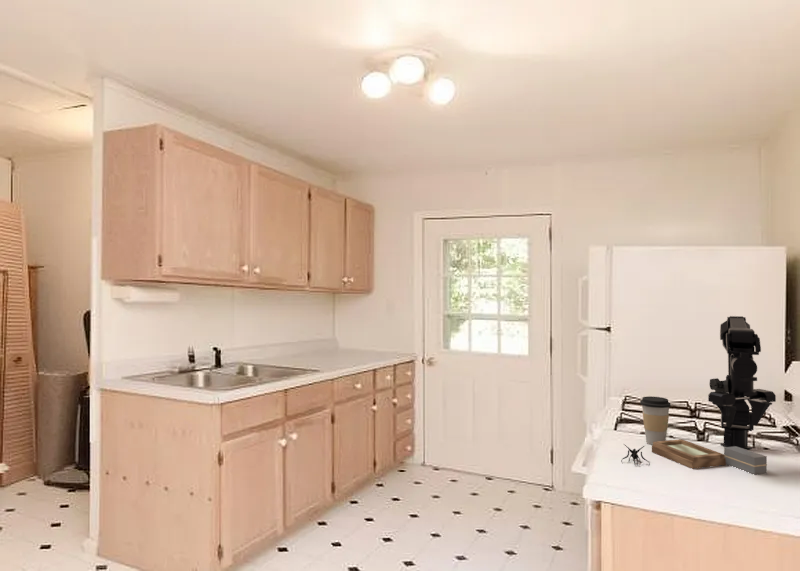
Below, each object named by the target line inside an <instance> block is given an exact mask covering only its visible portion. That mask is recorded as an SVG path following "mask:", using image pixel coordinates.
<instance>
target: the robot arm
mask: <svg viewBox="0 0 800 571" xmlns="http://www.w3.org/2000/svg"><path fill="white" fill-rule="evenodd" d="M719 339H720V341H722V342H721V343H722V347H723V349H725V351H726V353H727V372H728V373H727V374H726V376H725V380H720V379H719V378H718V377H717V378H716V377H715V378H710V379H709V389H710V390H711V391H710V392H709V393H708V400H707V401H708V402H710V403H712V405H715V406H716V407H717V408H718V409H719V410H720V427H721V429H724V430H723V431H724V432H723V443H722V442H721V443H720V446H723V447H734V446H737V447H740V448H743V449H746V450H752V449H753V447H752V446H749V444H748V443H749V441H748V439H749V437H748V434H749V433H748V431H749V432H752V431H754V426H756V427H757V426H758V424H759V423H760V421H761V419H762V418H763V416H764V414H765V413H766V412H767V410H768V409H769V407H770V406H773V403H775V402H776V400H777V399H776V397H777V396H776V394H775V392H773V391H771V390H768V389H767V390H766V389H762V388H761V389H760V388H754V385H755V384H754V383H755V382H758V377H757V376H755V375H756V373H757V372H758V365H757V363H756V361H755V360H754V357H753V356H760V353H761V352H762V348H761V347H762V346H761V341H760V337H759V336H758V333H756V332H755V330H754V329H753V328H751V324H749V323H748V322H747V318H746V317H744V316H736V315H734V316H733V315H730V316H727V319H726V320H725V321H724V322H722V323H721V324H720V326H719ZM746 400H747V401H746ZM747 402H748V403H749V405H748V403H747ZM750 407H751V408H750ZM750 409H751V411H750Z"/></svg>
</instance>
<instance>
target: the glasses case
mask: <svg viewBox="0 0 800 571" xmlns="http://www.w3.org/2000/svg"><path fill="white" fill-rule="evenodd" d="M723 448H724V449H723V454H724V458H726V464H727V465H726V466H729V465H730V466H729V467H732V466H733V467H732V468H734V467H736V468H735V469H737V468H738V469H737V470H740V469H741V470H740V471H742V470H744V471H743V472H745V471H746V473H748V472H749V473H748V474H751V475H753V474H754V476H757V474H758V475H765V474H766V475H767V474H768V469H767V468H768V464H767V463H768V462H767V455H764V454H761V453H758V452H755V451H752V450H750V449H743V448H740V447H737V446H734V447H725V446H723Z"/></svg>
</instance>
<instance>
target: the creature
mask: <svg viewBox="0 0 800 571" xmlns="http://www.w3.org/2000/svg"><path fill="white" fill-rule="evenodd" d="M623 445H624V446H625V447H626V448H627V449H628V451H627V454H626V456H624V457H622V458H621V461H620V462H621V463H623V460H625V459H627V458H628V462H630V460H631V458H632V460H633V462H634V463H633V464H634V465H637V466H638V465H639V462H641V458H642V459H643V460H644V461H646V462H648V466H650V464H651V462H649V460H647V459H646V457H644V456H643V451H641V450H642V449H643V448H644V447H645V445H643V446H642V447H641V448H638V449H637V450H636V448H633V449H631V448H630V447H628V446H627V445H626V444H624V443H623ZM639 452H640V457H641V458H640V457H639V455H638V453H639ZM635 460H636V462H635Z"/></svg>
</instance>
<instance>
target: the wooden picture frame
mask: <svg viewBox="0 0 800 571" xmlns="http://www.w3.org/2000/svg"><path fill="white" fill-rule="evenodd" d="M651 453H653V454H656V455H658V456H661V457H663V458H665V459H667V460H671V461H672V462H674V461H675V462H674V463H677V464H679V463H680V464H679V465H682V466H684V467H687V468H689V469H691V468H692V469H691V470H694V468H696V469H703V468H702V467H705V468H710V466H713V467H720V466H719V465H722V466H727V465H726V458H724V453H721V452H719V451H715V450H713V449H710V448H708V447H704V446H703V445H699V444H696V443H693V442H690V441H687V440H685V439H680V438H679V439H669V440H666V441H657V442H653V445H651Z"/></svg>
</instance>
